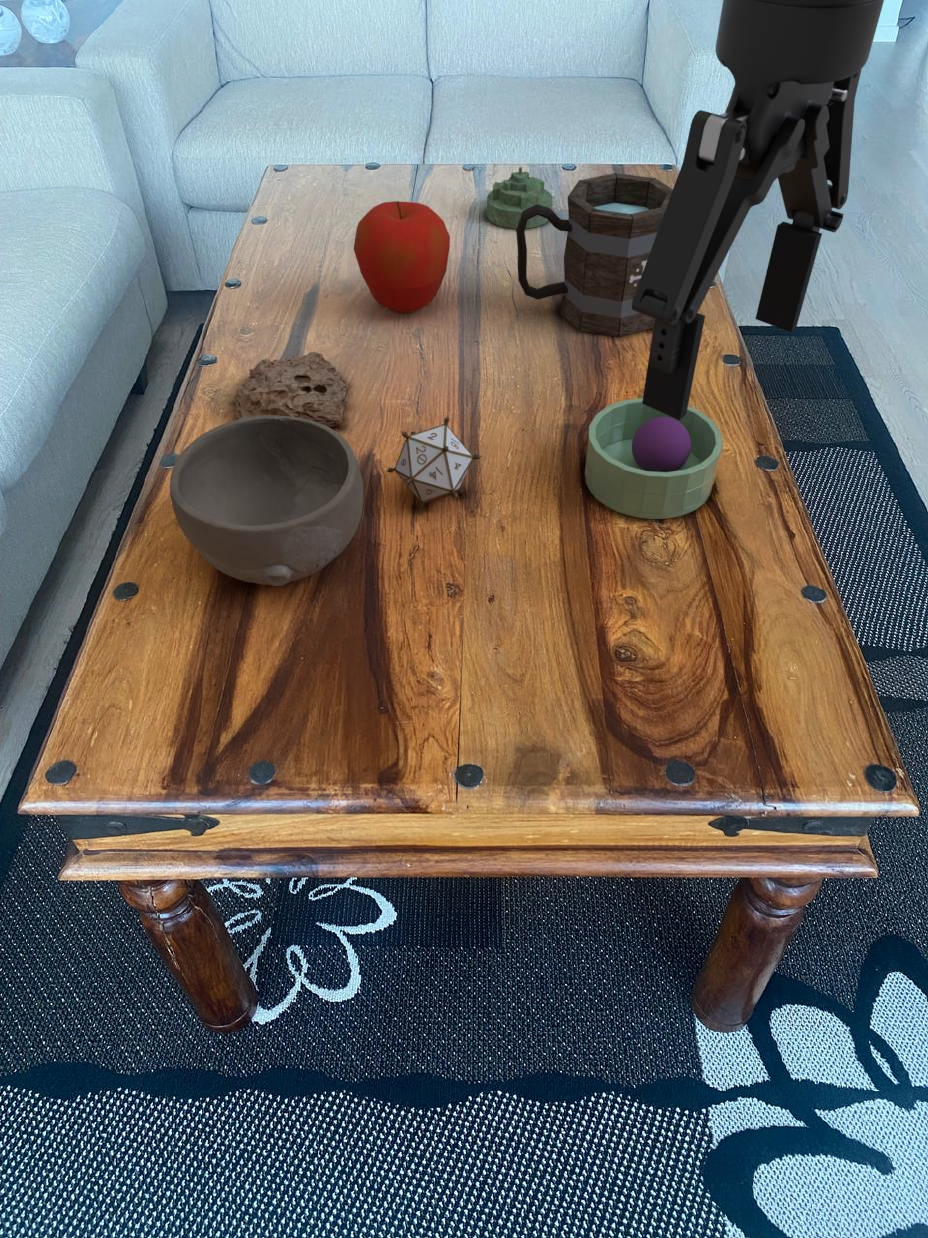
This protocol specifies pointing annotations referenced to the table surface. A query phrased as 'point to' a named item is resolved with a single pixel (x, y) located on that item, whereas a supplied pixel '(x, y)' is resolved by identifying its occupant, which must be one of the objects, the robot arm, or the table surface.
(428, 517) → the table surface
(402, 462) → the game die
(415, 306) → the apple
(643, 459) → the plum ball
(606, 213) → the mug
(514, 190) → the decorative artifact
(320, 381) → the rock
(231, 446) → the bowl
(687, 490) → the green bowl
